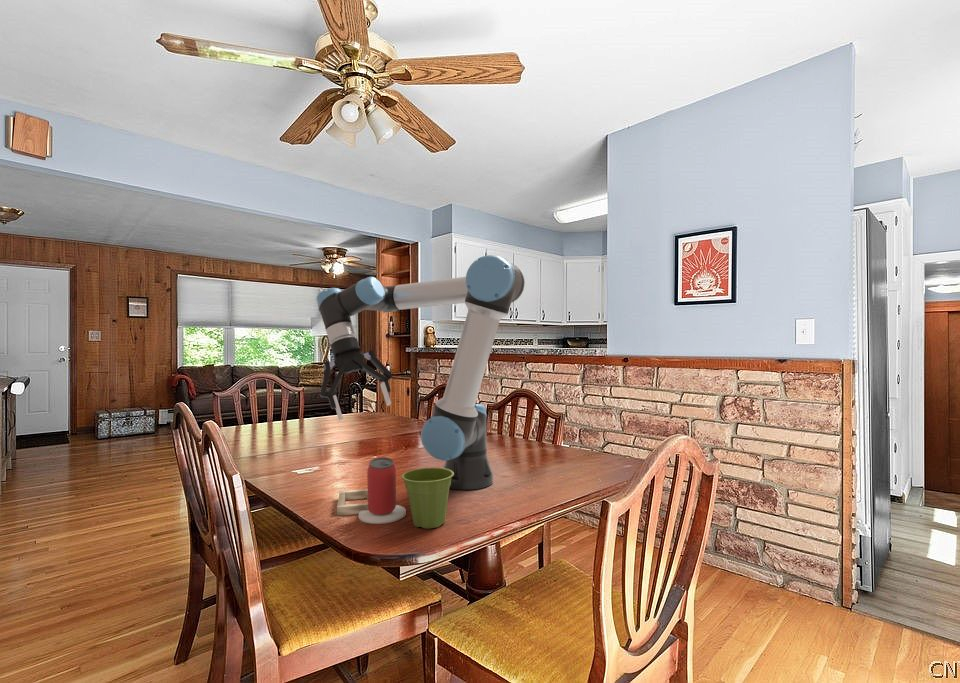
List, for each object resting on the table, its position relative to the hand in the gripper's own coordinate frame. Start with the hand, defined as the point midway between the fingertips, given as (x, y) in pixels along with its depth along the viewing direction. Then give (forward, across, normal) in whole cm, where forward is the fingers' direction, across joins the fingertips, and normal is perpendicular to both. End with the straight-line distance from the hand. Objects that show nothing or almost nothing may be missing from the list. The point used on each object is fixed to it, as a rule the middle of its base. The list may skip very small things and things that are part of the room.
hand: (365, 412), depth 134 cm
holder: (+23, +7, +2) cm, 24 cm away
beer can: (+26, +6, +11) cm, 28 cm away
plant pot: (+32, -2, +20) cm, 38 cm away
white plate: (+27, +6, +11) cm, 29 cm away
